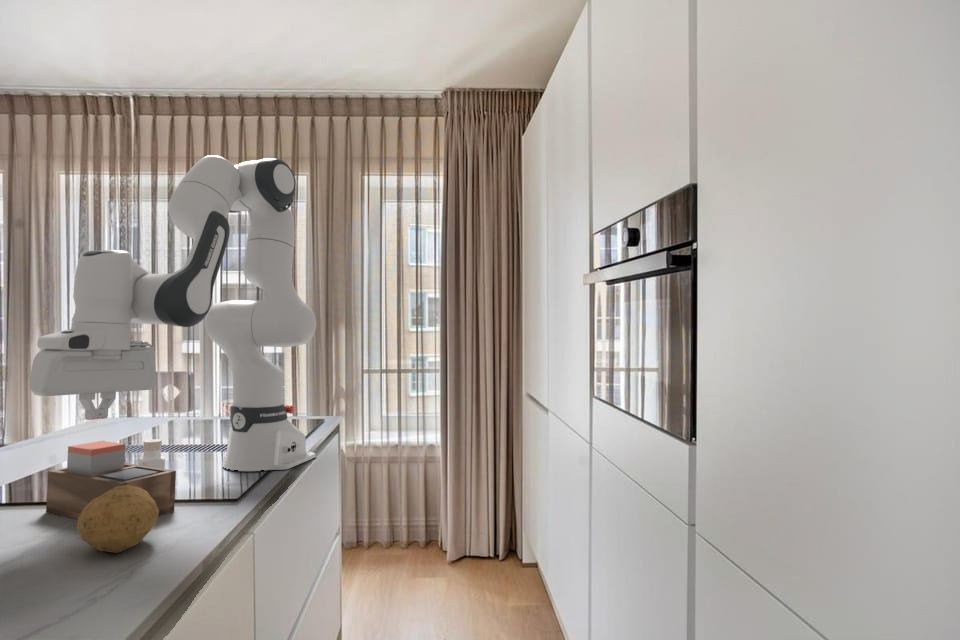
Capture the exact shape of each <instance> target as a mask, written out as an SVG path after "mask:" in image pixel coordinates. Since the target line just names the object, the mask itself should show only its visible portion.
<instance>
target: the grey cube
mask: <svg viewBox="0 0 960 640" xmlns="http://www.w3.org/2000/svg"><path fill="white" fill-rule="evenodd" d="M157 473H158V472H156V471H150V470H144V469H138V468H132V469H127V470H122V471H118V472H113V473H109V474H104V475H100V478H105V479H110V480H116V481H122V482H123V481H128V480H132V479H136V478H140V477H145V476H149V475H153V474H157Z"/></svg>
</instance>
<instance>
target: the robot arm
mask: <svg viewBox="0 0 960 640" xmlns="http://www.w3.org/2000/svg"><path fill="white" fill-rule="evenodd" d="M295 177H296V176H295V174H294V171H293V170H292V169H291V167H290V166H289V164H288V163H287V162H285V161H284V160H282V159H280V158H273V157H272V158H271V157H264V158H262V159H257V160H255V159H254V160H248V161H243V162H240V163H239V164H234V163H233V162H231V161H230V160H228V159H226V158H224V157H222V156H220V155H214V154H213V155H212V154H211V155H210V154H209V155H206V156H204V157H202V158H200V159H199V160H198V161H197V162H196V163H194V165H193V166H192V167H191V168H190V169H189V170H188V171H187V172H186V174H185V175H184V176H183V178H182V179H181V180H180V182H179V183H178V185H177V186H176V188H175V190H174V191H173V192H172V194H171V197H170V199H169V202H168V205H167V206H168V207H167V212H168V215H169V218H170V220H171V222H172V223H173V225H174V227H176V228H177V229H178V231H180V232H181V233H182V234H184V235H185V236H187V237H189V238H191V239H193V243H192V245H191V248H190V251H189V253H188V256H187V259H186V260H185V264H184V266H183V267H182V268H180V269H178V270H176V271H174V272H171V273H151V272H150V271H148V270H147V269H145V268H143V267H142V266H140V265H139V264H138V263H137V262H136V261H135V260H134V258H133V257H132V254H131V252H130V251H126V250H122V249H108V250H107V249H106V250H103V249H102V250H89V251H85V252H84V253H83V254H82V255H81V256H80V257H79V260H78V262H77V266H76V269H75V275H74V282H73V301H74V307H75V309H74V314H73V316H72V319H71V328H69V329H65V330H61V331H57V332H53V333H50V334H45V335H42V336H40V337H39V338H38V339H37V342H36V343H37V347H38V349H40V351H39V352H37V353H36V354H35V356H34V358H33V360H32V365H31V370H30V376H29V377H30V378H29V389H30V391H31V392H32V394H33V395H35V396H39V397H40V396H41V397H56V396H57V397H58V396H70V395H71V396H72V395H73V396H74V395H78V400H79V402H80V404H81V405H82V407H83V408H84V410H85V411H84V419H85V420H86V421H95V420H103V419H107V418H108V417H109V409H110V408H111V406H112V405H113V403H114V402H115V401H116V397H117V396H116V395H117V393H122V392H133V391H134V392H136V391H138V392H139V391H150V390H153V389H154V388H155V386H156V384H157V368H156V361H155V353H156V352H155V351H156V350H155V348H154V347H153V345H152V344H150V343H149V342H148V341H145V340H140V341H138V340H136V341H135V340H131V339H132V337H131V336H132V323H133V324H140V325H141V324H142V325H143V324H145V325H146V324H147V325H169V326H175V327H182V328H191V327H194V326H196V325H198V324H200V323H201V322H202V321H203V320H204V329H205V332H206V334H207V336H208V338H209V339H210V340H211V341H212V342H213V343H215V344H216V345H217V346H219V348H220V349H221V350H222V351H223V353H224V354H225V356H226V357H227V360H228V362H229V364H230V368H231V372H232V388H233V390H232V405H231V406H230V411H229V414H230V415H229V421H230V423H231V426H230V428H229V434H228V440H227V447H226V453H225V456H224V457H223V464H222V468H223V467H224V469H225V468H226V470H228V469H230V470H229V471H234V470H238V471H237V472H262V471H261V470H264V471H273V470H274V471H276V470H277V471H279V470H280V471H281V470H289V469H291V468H293V467H296V466H298V465H300V464H303V463H305V462H308V461H310V460H313V459H314V458H316V453H315V452H313V451H311V450H307V444H306V443H307V442H306V435H305V433H303V432H302V430H300V429H299V428H298V427H296V425H295V424H294V423H292V422H291V421H289V419H288V418H289V417H288V414H294V413H295V412H296V407H295V405H293V404H291V405H289V404H286V405H285V404H283V403H284V374H283V372H282V370H281V369H280V368H279V366H277V365H276V364H274V363H272V362H271V361H268V359H266V358H265V356H264V354H263V350H262V347H271V348H289V347H290V348H292V347H297V346H302V345H306V344H308V343H309V342H311V340H312V338H313V337H314V335H315V333H316V330H317V319H316V315H315V313H314V311H313V310H312V308H311V307H310V306H309V304H306V302H304V301H303V299H302V298H300V296H299V295H298V293H297V291H296V288H295V285H294V281H293V266H294V265H293V264H294V262H293V261H294V254H295V253H294V250H295V241H296V240H295V239H296V238H295V237H296V236H295V231H296V230H295V229H296V228H295V221H294V220H295V218H294V215H293V213H292V211H291V210H290V209H289V208H290V207H291V206H292V204H293V202H294V197H295V193H296V185H297V184H296V178H295ZM240 212H247V214H248V217H249V222H250V224H249V228H248V232H247V237H246V245H245V251H244V259H243V265H242V266H243V268H242V270H243V274H244V276H245V278H246V279H247V281H248V282H249V283H251V284H253V285H254V286H255V287H257V288H260V289H261V290H262V293H263V298H262V299H260V300H255V299H254V300H250V299H249V300H248V299H231V300H225V301H220V302H216V303H214V304H212V303H213V302H212V300H213V291H214V286H215V282H216V280H217V276H218V273H219V270H220V267H221V264H222V262H223V261H222V260H223V258H224V255H225V252H226V249H227V246H228V243H229V238H230V232H231V230H230V224H229V221H228V219H227V218H228V216H229V214H235V213H236V214H237V213H240ZM96 394H100V395H99V397H100V399H102V400H101V402H100V403H99V405H98V407H95V404H94V403H93V401H95V400H96Z"/></svg>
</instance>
